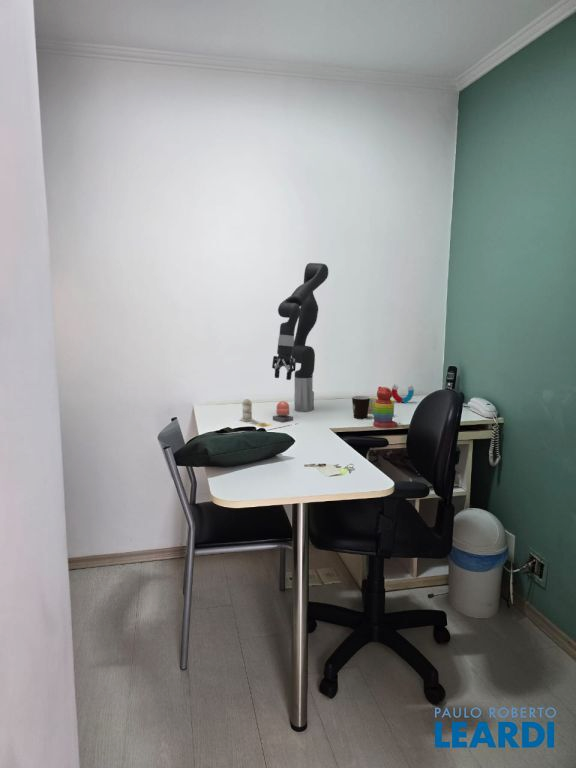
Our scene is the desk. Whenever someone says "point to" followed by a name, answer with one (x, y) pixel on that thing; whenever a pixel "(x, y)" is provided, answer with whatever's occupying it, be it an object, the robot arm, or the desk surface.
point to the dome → (282, 408)
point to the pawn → (247, 411)
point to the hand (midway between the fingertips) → (282, 378)
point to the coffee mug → (360, 406)
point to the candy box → (371, 405)
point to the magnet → (402, 399)
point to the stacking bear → (384, 409)
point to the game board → (276, 418)
